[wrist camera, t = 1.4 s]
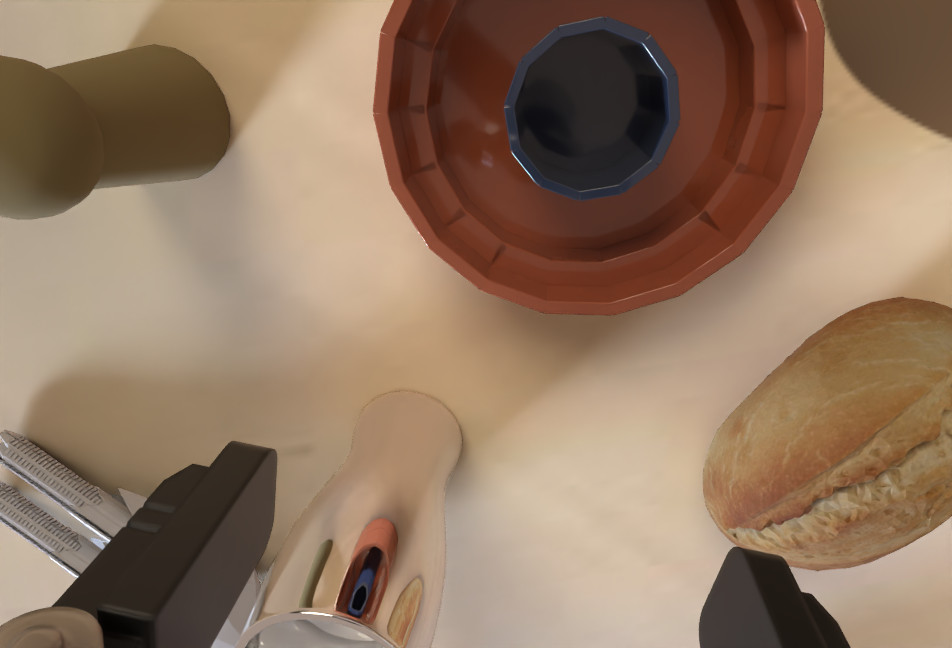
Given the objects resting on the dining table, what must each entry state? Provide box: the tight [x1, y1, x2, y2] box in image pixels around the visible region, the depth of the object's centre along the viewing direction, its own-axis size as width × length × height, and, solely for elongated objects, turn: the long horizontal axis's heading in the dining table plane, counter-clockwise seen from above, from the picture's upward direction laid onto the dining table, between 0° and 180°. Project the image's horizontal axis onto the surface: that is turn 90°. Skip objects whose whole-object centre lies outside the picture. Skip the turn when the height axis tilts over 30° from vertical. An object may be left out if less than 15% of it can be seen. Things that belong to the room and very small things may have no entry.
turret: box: [0, 430, 261, 648], centre depth 38 cm, size 10×20×5 cm, turn 58°
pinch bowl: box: [504, 16, 681, 201], centre depth 25 cm, size 6×6×5 cm
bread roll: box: [703, 297, 952, 571], centre depth 28 cm, size 10×15×8 cm, turn 148°
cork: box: [0, 45, 230, 219], centre depth 24 cm, size 6×6×11 cm
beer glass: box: [234, 391, 462, 648], centre depth 28 cm, size 7×7×15 cm
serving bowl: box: [373, 0, 825, 315], centre depth 25 cm, size 16×16×5 cm
